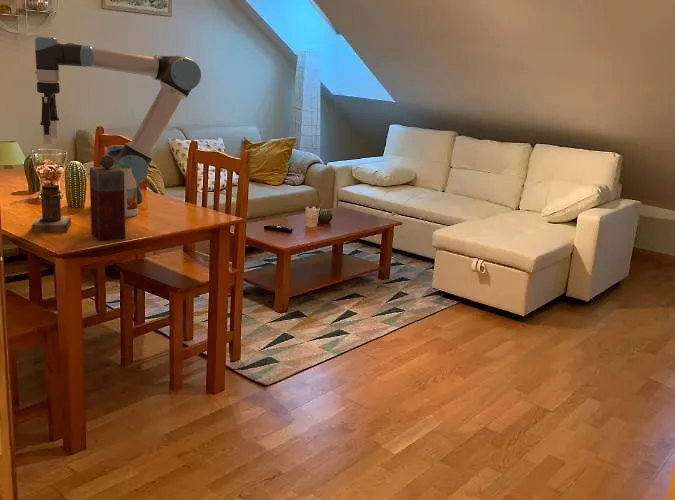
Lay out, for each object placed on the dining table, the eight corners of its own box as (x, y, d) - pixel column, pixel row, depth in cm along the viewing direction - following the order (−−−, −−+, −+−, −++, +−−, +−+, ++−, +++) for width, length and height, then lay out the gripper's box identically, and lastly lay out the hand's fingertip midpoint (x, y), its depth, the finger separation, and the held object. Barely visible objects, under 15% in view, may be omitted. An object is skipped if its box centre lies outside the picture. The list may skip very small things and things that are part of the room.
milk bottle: (119, 217, 261) (117, 165, 255) (114, 212, 267) (112, 161, 261) (140, 216, 265) (138, 164, 259) (134, 211, 271) (133, 160, 265)
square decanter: (115, 230, 244) (113, 151, 236) (125, 238, 235) (124, 156, 227) (89, 232, 239) (86, 151, 231) (98, 241, 230) (96, 157, 222)
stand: (71, 224, 247) (70, 216, 247) (66, 232, 237) (66, 224, 236) (38, 224, 245) (37, 215, 244) (32, 232, 235) (31, 223, 234)
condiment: (62, 217, 244) (61, 183, 241) (62, 223, 237) (60, 189, 233) (40, 217, 242) (38, 183, 239) (39, 223, 234) (37, 189, 231)
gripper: (42, 78, 260) (45, 135, 266) (30, 83, 237) (33, 145, 243) (64, 80, 262) (66, 136, 268) (53, 84, 238) (56, 146, 244)
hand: (50, 141), depth 255 cm, fingers open, 13 cm apart
